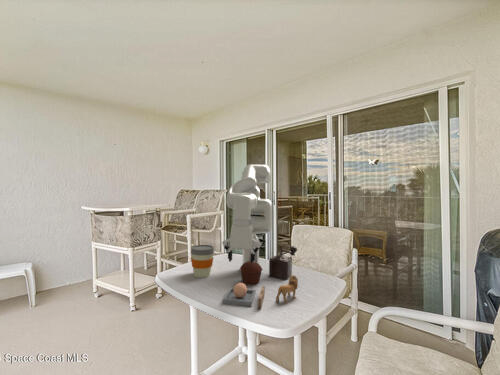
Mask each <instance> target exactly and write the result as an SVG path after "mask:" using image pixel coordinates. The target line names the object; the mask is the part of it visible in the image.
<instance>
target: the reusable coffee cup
mask: <svg viewBox="0 0 500 375" xmlns="http://www.w3.org/2000/svg"><path fill="white" fill-rule="evenodd" d="M214 248H215V247H214V246H213V245H209V244H197V245H193V246H192V247H191V248H190V254H191V259H190V260H191V266H192V272H193V273H192V274H193V276H194V277H195V278H200V279H201V278H208V277H209V276H211V272H212V267H213V262H214V254H215V249H214Z"/></svg>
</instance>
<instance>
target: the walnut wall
mask: <svg viewBox="0 0 500 375" xmlns="http://www.w3.org/2000/svg"><path fill="white" fill-rule="evenodd" d="M265 288H266V286H263V285H262V286H261V289H260V291H259V296H258V300H257V302H258V303H257V306H258V307H257V309H258V310H262V308H263V302H264V298H265V291H266V290H265Z"/></svg>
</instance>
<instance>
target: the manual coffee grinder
mask: <svg viewBox="0 0 500 375" xmlns="http://www.w3.org/2000/svg"><path fill="white" fill-rule="evenodd" d="M279 247H280V248H279V250H280V254H278V255H277V254H276V255H274V256H272V257H271V258H269V261H268V262H269V264H268V277H270V278H276V279H282V280H288V279H289V278H288V277H290V276H291V274H292V275H293V257H294V256H296V252H297V251H298V248H297V247H296V246H294V245H293V246H290V248H289V250H290V251H289V250H286V249H284V248H283V245H280V246H279ZM283 252H285V253H288V254H289V255H291V256H293V257H289V256H286V255H283ZM287 278H288V279H287Z"/></svg>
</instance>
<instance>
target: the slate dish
mask: <svg viewBox="0 0 500 375" xmlns="http://www.w3.org/2000/svg"><path fill="white" fill-rule="evenodd" d="M233 289H234V287H229V288H228V291H227V292H226V294H225V295H224V297H223V299H222V304H225V305H235V306H245V307H252V306H253V304H254V301H255V297H256V295H257V294H256V293H257V291H256V289H252V288H251V289H250V288H247V293H246V295H245V296H244V297H242V298H238V297H236V296H235V295H234V292H233Z"/></svg>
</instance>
